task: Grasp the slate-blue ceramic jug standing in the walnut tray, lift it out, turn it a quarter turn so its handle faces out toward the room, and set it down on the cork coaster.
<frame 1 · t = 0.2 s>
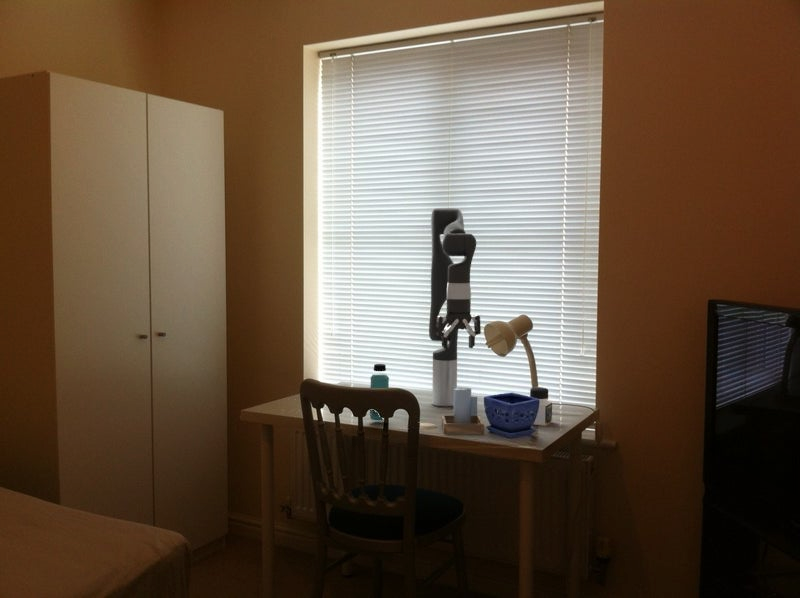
hand: (458, 348, 230), 27 cm above the table, fingers open, 8 cm apart
flower pot: (511, 435, 231), on the table
tray: (462, 430, 235), on the table
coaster: (421, 428, 238), on the table
beverage bottle: (379, 423, 245), on the table
medicine bottle: (538, 423, 246), on the table
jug: (462, 428, 235), point 1 cm above the table, touching tray
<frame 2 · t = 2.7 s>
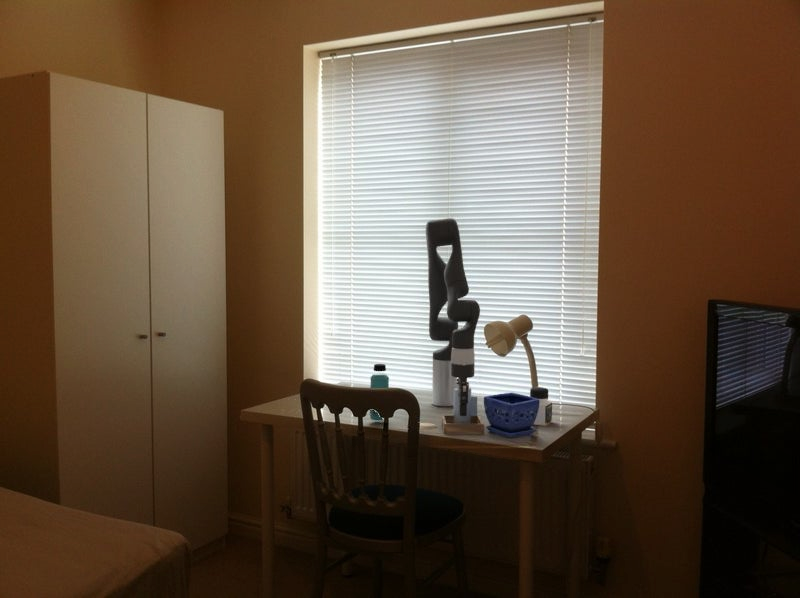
hand: (462, 413, 235), 6 cm above the table, fingers closed on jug, 5 cm apart
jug: (462, 428, 235), point 1 cm above the table, touching gripper, tray
everything else where it was.
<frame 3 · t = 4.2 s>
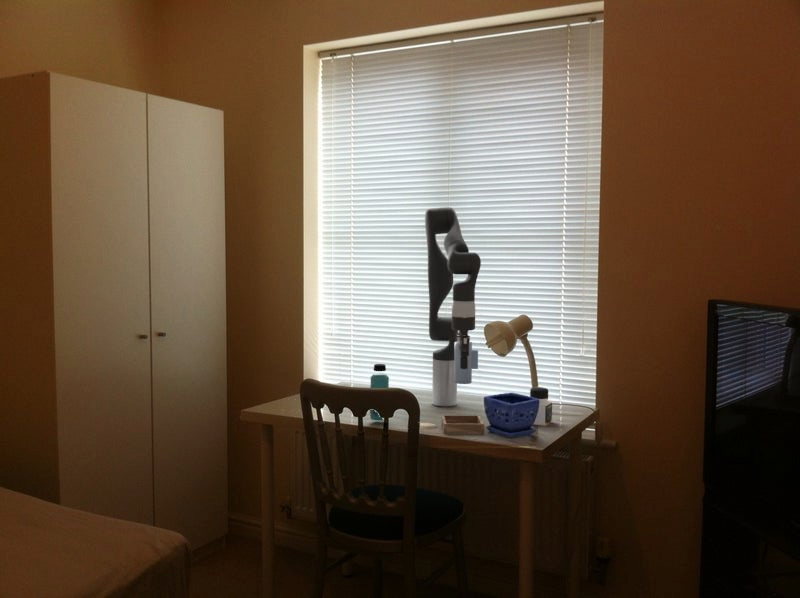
hand: (463, 366, 234), 21 cm above the table, fingers closed on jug, 5 cm apart
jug: (462, 382, 234), point 16 cm above the table, touching gripper
everything else where it was.
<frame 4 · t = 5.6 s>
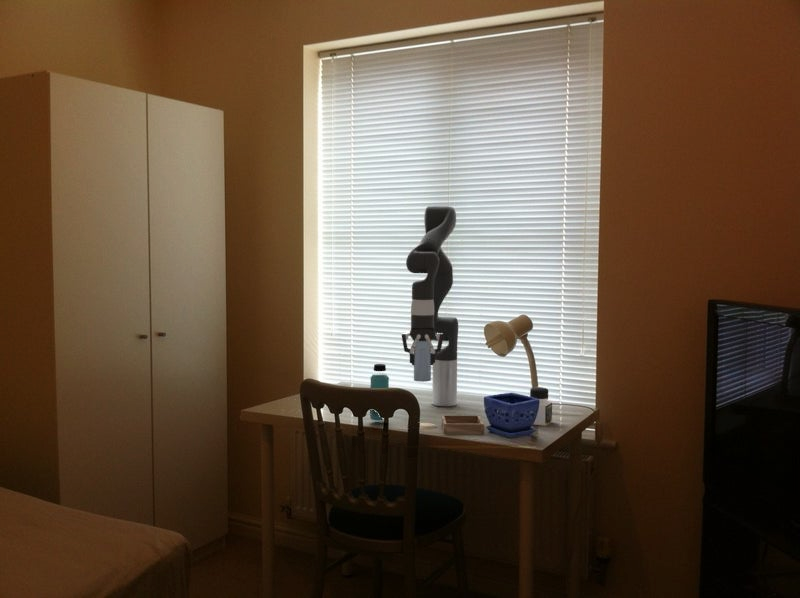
hand: (422, 364, 237), 21 cm above the table, fingers closed on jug, 5 cm apart
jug: (422, 380, 237), point 16 cm above the table, touching gripper
everything else where it was.
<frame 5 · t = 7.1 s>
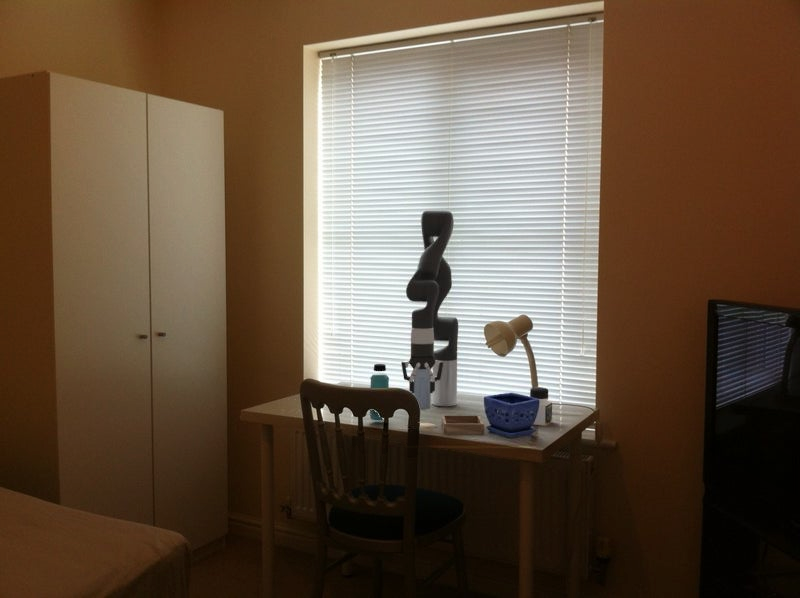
hand: (421, 392, 237), 12 cm above the table, fingers closed on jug, 5 cm apart
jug: (421, 407, 238), point 7 cm above the table, touching gripper
everything else where it was.
when the fingers open (7 cm above the table, at t = 8.5 s): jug drops 2 cm, resting on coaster.
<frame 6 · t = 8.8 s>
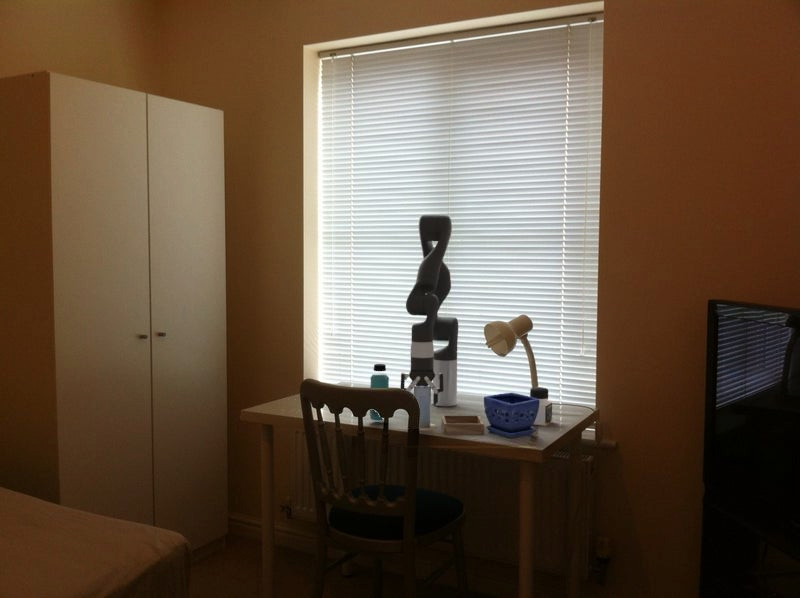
hand: (421, 404, 238), 8 cm above the table, fingers open, 8 cm apart
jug: (421, 426, 238), point 1 cm above the table, touching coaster
everything else where it was.
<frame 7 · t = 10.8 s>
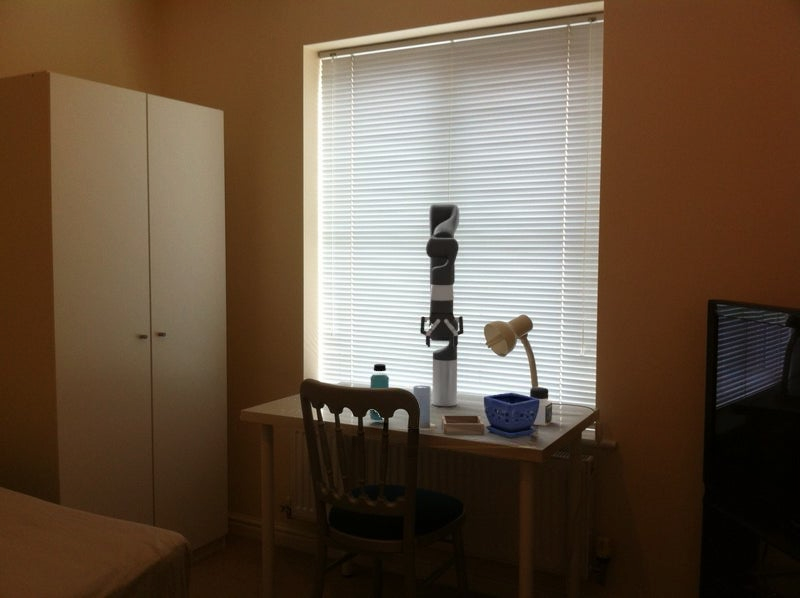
hand: (441, 346, 242), 26 cm above the table, fingers open, 8 cm apart
nothing on the table moved.
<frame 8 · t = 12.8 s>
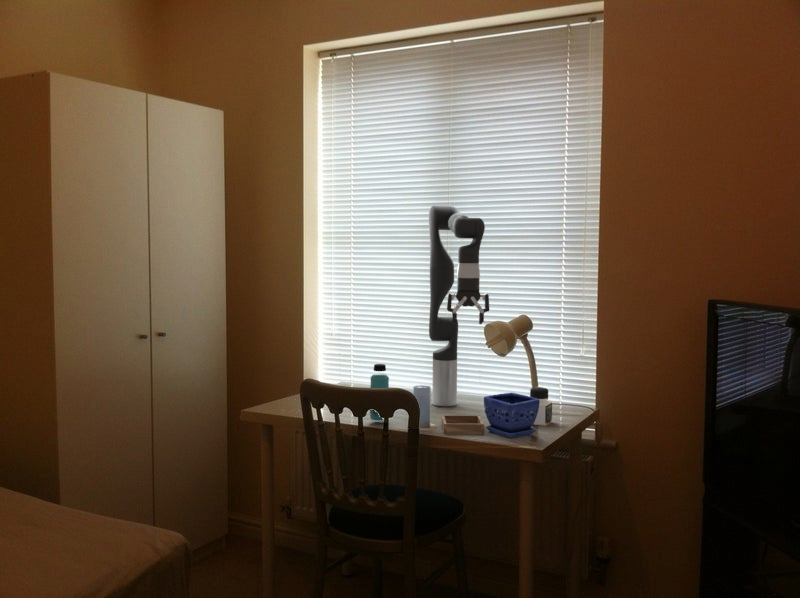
hand: (467, 324, 248), 33 cm above the table, fingers open, 8 cm apart
nothing on the table moved.
at the end: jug 0.1 cm from the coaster (horizontally); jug tilted 0°; the gripper is holding nothing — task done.
